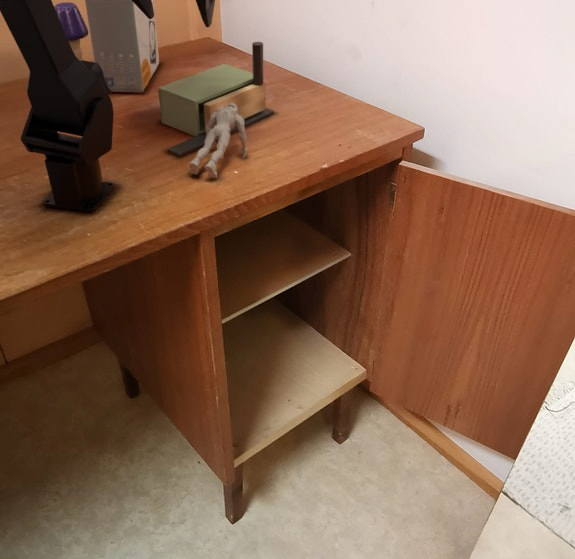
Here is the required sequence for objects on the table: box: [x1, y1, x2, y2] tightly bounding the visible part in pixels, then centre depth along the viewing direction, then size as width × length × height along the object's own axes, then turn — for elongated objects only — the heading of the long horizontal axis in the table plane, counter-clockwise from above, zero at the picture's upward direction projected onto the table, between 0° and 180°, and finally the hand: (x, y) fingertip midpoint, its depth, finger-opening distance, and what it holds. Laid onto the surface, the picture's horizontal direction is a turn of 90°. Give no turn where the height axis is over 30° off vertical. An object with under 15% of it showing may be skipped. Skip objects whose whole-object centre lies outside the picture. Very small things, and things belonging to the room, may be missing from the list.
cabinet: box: [157, 63, 275, 158], centre depth 91 cm, size 20×10×6 cm, turn 141°
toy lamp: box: [54, 2, 89, 61], centre depth 87 cm, size 5×5×17 cm
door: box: [204, 41, 266, 131], centre depth 89 cm, size 12×2×10 cm, turn 141°
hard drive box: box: [84, 0, 160, 94], centre depth 101 cm, size 16×8×20 cm, turn 179°
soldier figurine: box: [188, 103, 248, 179], centre depth 82 cm, size 6×5×12 cm
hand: (179, 21), depth 86 cm, fingers open, 9 cm apart
